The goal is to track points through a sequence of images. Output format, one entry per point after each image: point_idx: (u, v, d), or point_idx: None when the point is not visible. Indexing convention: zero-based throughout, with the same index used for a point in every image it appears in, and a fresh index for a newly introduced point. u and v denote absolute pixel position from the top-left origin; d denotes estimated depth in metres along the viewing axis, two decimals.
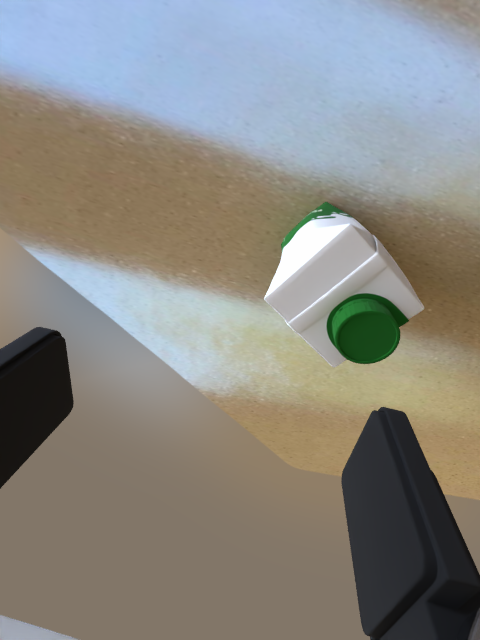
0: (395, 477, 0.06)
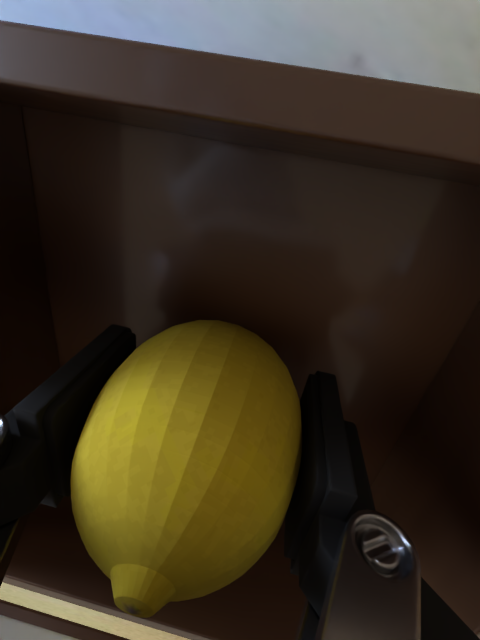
0: (312, 423, 0.07)
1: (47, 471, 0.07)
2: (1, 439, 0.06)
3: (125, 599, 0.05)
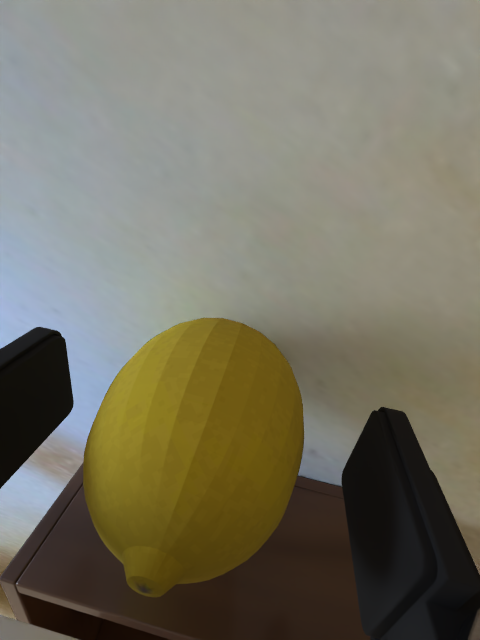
0: (395, 477, 0.06)
1: None
2: None
3: (137, 579, 0.05)
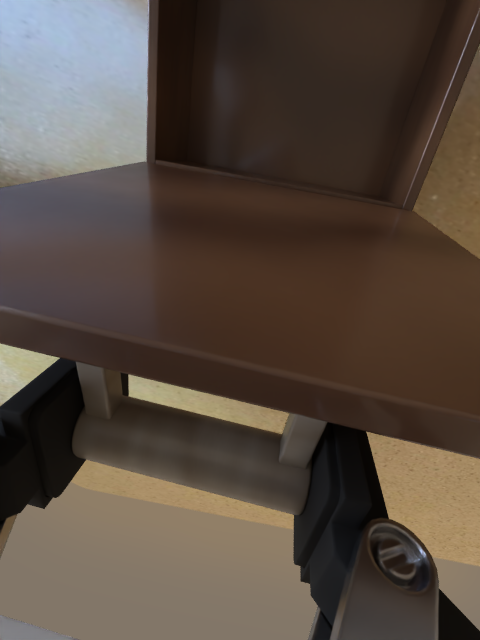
0: None
1: (35, 472, 0.07)
2: None
3: None
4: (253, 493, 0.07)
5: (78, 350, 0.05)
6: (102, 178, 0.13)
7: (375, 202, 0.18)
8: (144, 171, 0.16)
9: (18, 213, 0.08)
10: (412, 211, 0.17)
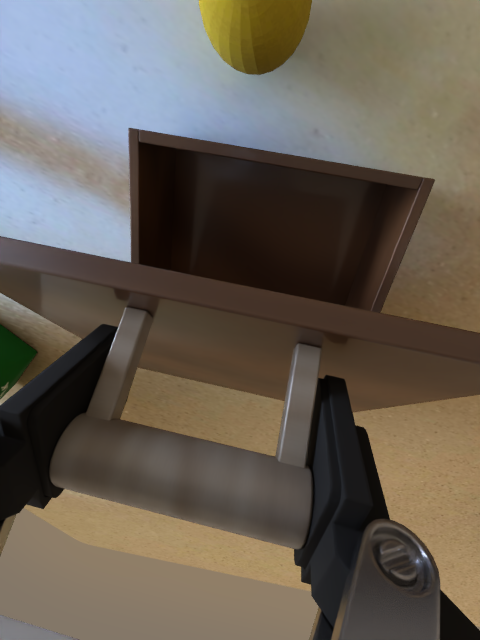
0: (323, 428, 0.07)
1: (34, 472, 0.07)
2: None
3: None
4: (256, 489, 0.07)
5: (157, 284, 0.08)
6: None
7: None
8: None
9: None
10: None
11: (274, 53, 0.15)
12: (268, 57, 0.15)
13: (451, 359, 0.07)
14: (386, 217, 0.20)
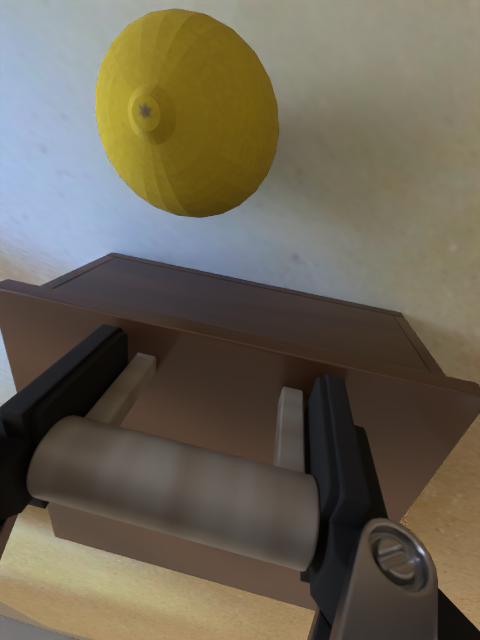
0: (322, 428, 0.07)
1: None
2: None
3: (140, 99, 0.07)
4: (261, 473, 0.07)
5: (176, 323, 0.10)
6: None
7: None
8: None
9: None
10: None
11: (222, 209, 0.10)
12: (214, 213, 0.10)
13: (401, 381, 0.09)
14: None
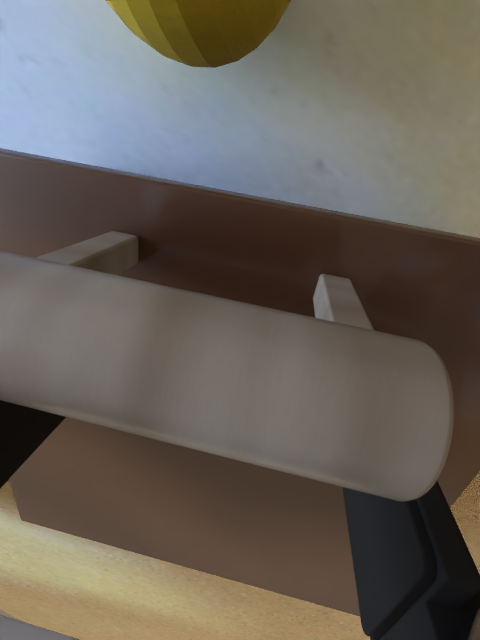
0: None
1: None
2: None
3: None
4: (318, 320, 0.03)
5: (167, 181, 0.07)
6: None
7: None
8: None
9: None
10: None
11: (230, 17, 0.07)
12: (218, 27, 0.07)
13: None
14: None
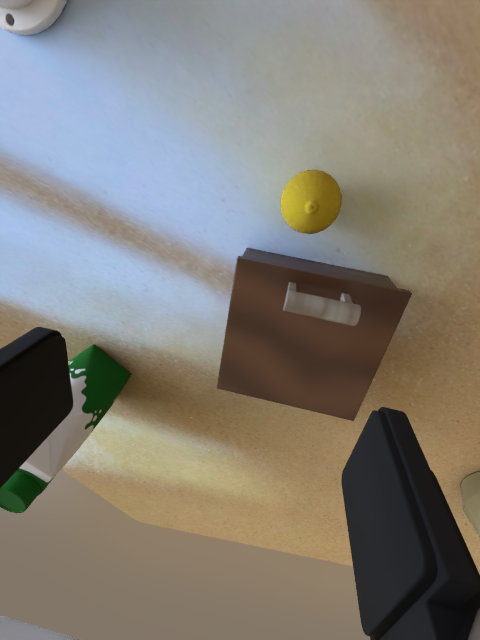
0: (395, 477, 0.06)
1: None
2: None
3: (311, 204, 0.25)
4: (344, 301, 0.25)
5: (305, 270, 0.28)
6: None
7: None
8: None
9: None
10: None
11: None
12: None
13: (383, 288, 0.28)
14: None
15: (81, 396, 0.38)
